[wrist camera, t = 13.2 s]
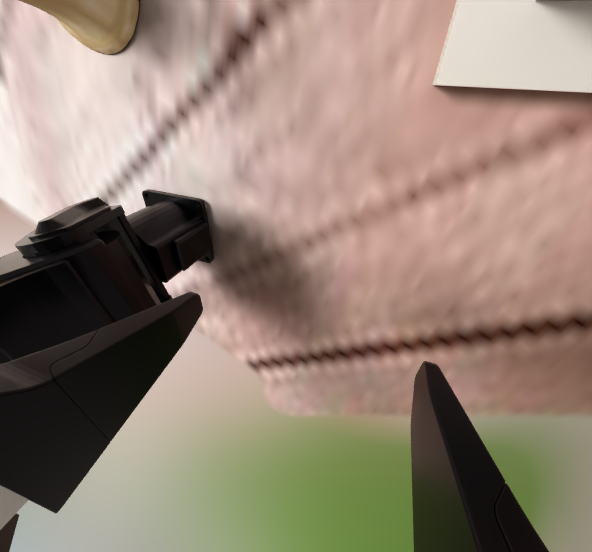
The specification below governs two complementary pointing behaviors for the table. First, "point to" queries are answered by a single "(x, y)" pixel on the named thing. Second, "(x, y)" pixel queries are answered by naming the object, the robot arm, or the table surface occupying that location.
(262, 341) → the table surface
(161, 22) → the table surface
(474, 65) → the socket board
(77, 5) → the hand bell
